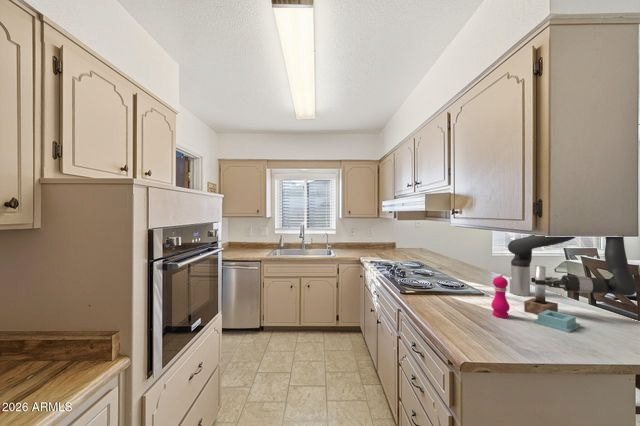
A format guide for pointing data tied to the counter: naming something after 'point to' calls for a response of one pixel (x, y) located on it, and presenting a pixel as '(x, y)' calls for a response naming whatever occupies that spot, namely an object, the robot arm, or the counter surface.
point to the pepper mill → (500, 297)
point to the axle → (540, 289)
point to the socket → (557, 321)
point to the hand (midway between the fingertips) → (533, 281)
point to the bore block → (539, 306)
